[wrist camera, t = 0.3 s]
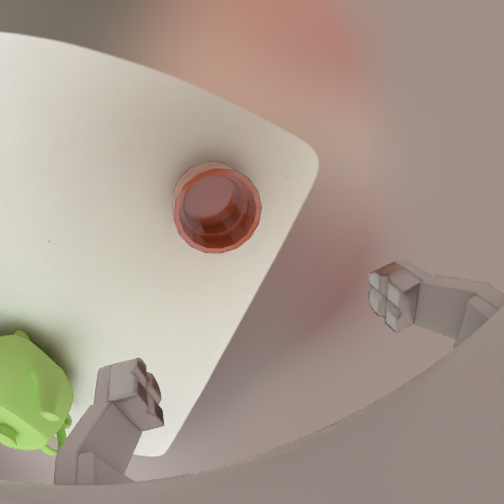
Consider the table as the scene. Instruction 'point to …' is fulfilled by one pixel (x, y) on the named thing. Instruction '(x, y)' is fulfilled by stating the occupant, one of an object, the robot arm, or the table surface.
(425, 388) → the robot arm
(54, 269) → the table surface
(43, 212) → the table surface
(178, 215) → the orange cup
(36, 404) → the teapot
